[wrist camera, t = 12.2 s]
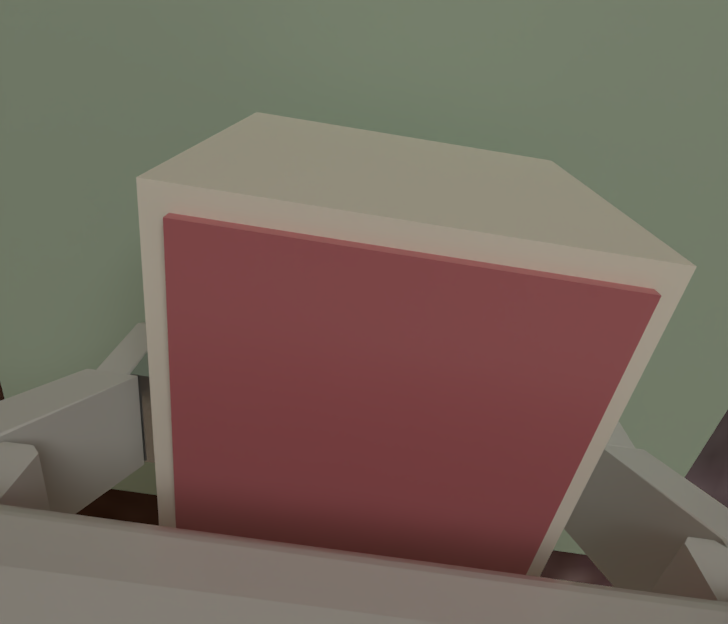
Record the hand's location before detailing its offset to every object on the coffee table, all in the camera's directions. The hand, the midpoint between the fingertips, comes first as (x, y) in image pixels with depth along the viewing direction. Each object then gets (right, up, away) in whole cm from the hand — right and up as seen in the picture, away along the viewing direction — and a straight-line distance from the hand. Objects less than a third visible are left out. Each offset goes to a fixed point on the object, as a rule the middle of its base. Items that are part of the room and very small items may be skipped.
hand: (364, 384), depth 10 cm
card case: (0, +1, +2) cm, 2 cm away
